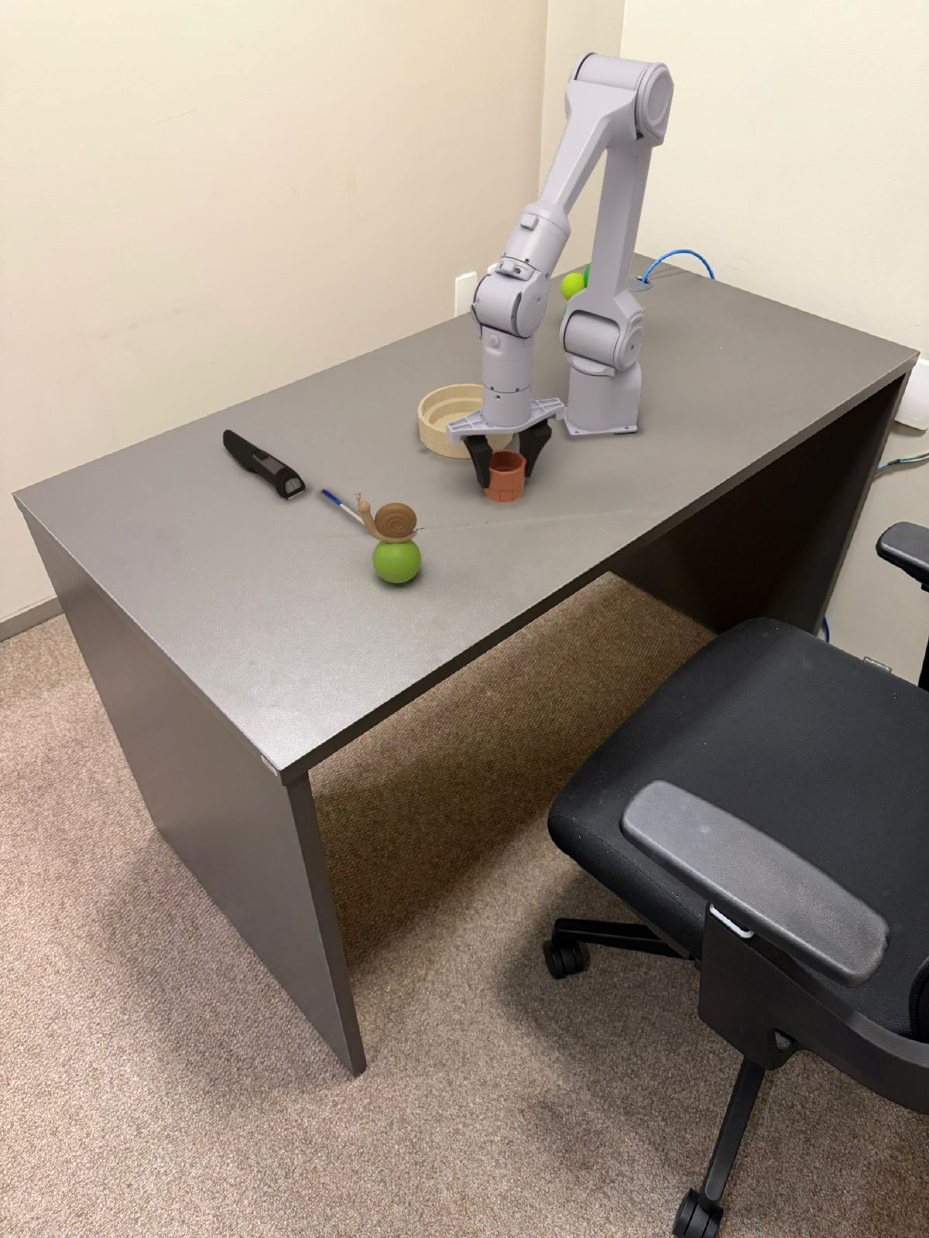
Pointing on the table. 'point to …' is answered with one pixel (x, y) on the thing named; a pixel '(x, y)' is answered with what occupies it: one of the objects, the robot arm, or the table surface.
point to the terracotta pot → (506, 476)
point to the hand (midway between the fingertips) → (504, 478)
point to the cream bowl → (452, 419)
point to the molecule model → (574, 284)
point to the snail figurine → (392, 540)
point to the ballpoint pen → (341, 504)
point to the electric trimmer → (264, 465)
